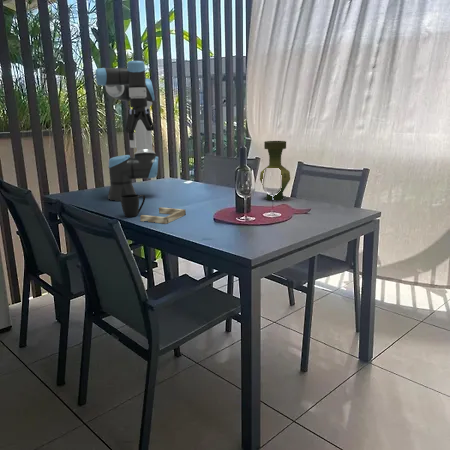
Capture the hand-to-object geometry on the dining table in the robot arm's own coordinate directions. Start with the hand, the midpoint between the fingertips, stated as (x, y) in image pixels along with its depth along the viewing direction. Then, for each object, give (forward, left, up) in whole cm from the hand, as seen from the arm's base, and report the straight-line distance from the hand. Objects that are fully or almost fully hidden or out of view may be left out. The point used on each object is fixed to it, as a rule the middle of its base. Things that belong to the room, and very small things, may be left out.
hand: (141, 146), depth 204 cm
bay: (+12, -5, -32) cm, 34 cm away
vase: (+48, +50, -32) cm, 76 cm away
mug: (-3, -5, -32) cm, 32 cm away
